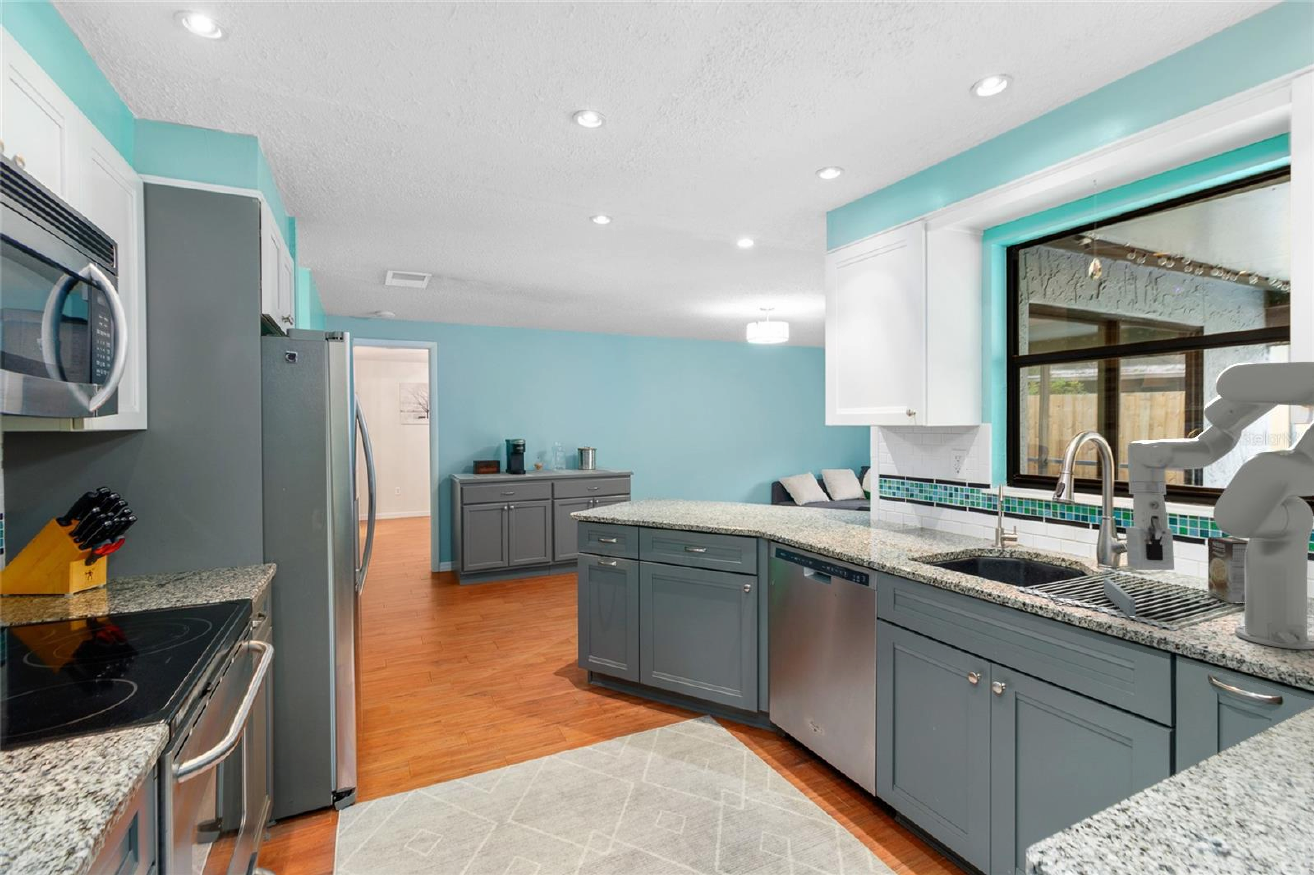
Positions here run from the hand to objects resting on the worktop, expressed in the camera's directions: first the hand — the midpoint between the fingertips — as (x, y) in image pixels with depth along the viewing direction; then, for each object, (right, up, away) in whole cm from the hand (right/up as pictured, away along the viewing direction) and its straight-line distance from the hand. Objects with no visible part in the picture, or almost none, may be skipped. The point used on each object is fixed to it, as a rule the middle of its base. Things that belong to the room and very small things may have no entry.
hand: (1149, 557), depth 160 cm
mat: (-17, -13, +4) cm, 22 cm away
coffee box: (+26, -12, +5) cm, 29 cm away
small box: (0, -3, 0) cm, 3 cm away
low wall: (-8, -12, 0) cm, 15 cm away
